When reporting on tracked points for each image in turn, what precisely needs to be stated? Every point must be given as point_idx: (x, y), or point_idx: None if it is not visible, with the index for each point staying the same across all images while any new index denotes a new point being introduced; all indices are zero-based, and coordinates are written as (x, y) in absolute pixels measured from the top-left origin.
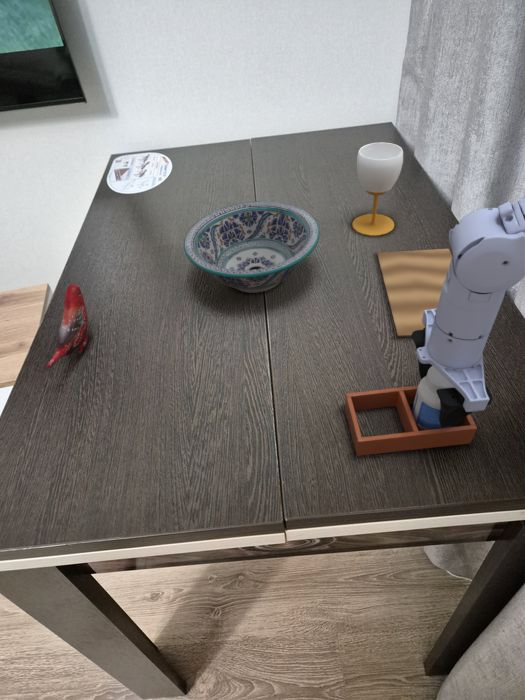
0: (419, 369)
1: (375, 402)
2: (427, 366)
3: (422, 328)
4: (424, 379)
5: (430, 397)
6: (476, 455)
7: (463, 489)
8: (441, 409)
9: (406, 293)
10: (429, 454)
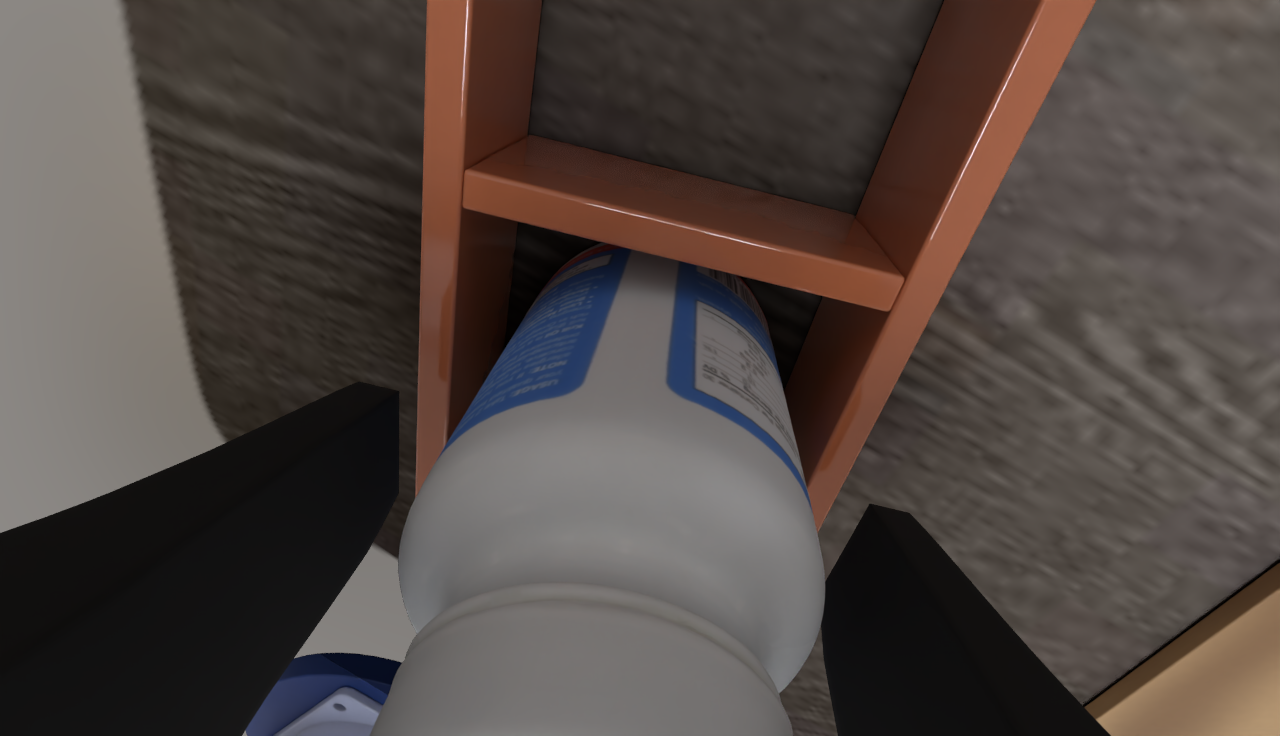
0: (950, 584)
1: (956, 42)
2: (915, 682)
3: (1254, 656)
4: (769, 577)
5: (501, 498)
6: (406, 423)
7: (228, 266)
8: (149, 530)
9: None
10: None
